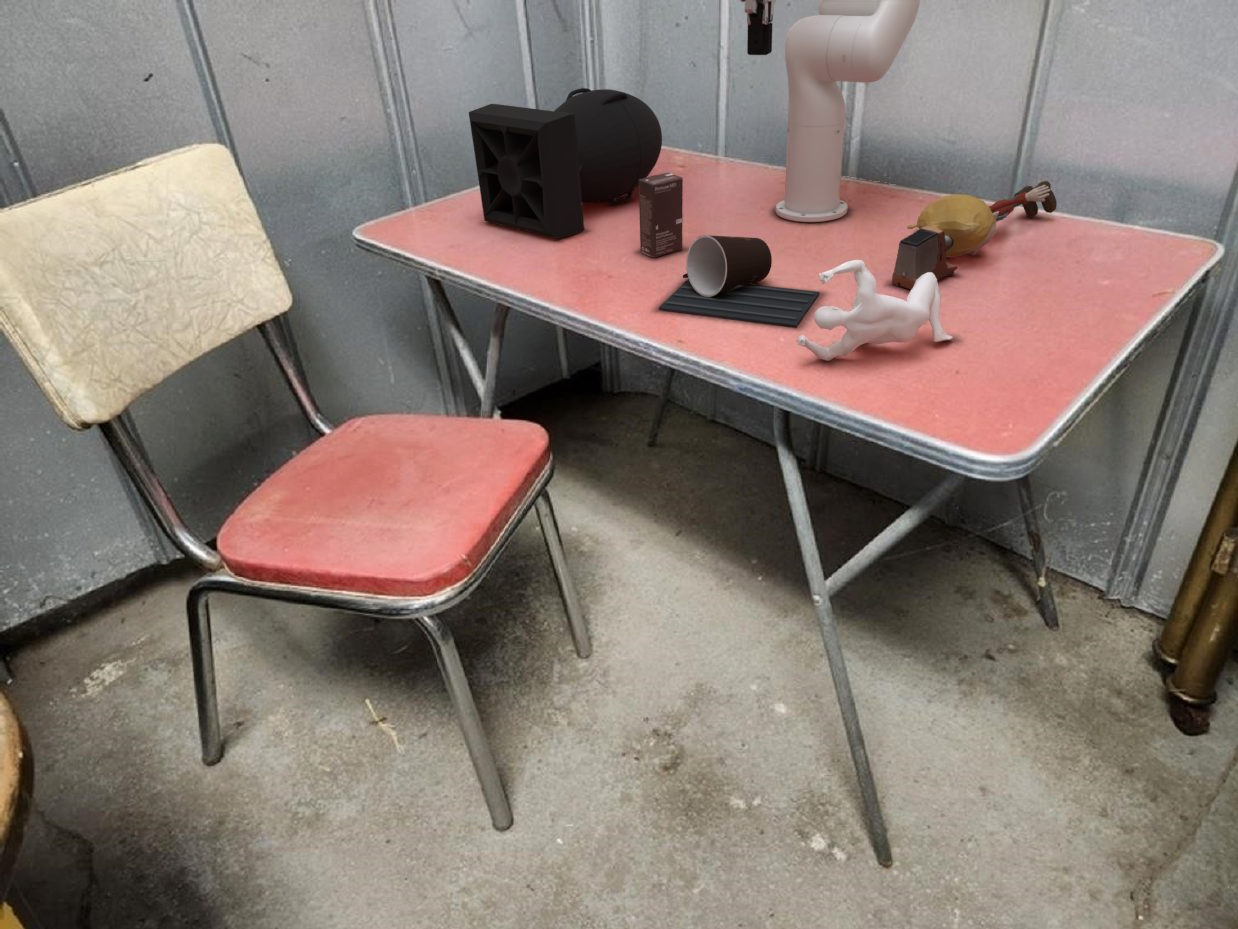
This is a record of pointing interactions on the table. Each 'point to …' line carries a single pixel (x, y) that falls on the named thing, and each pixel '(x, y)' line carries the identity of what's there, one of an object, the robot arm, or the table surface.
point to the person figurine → (877, 313)
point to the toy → (980, 216)
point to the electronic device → (922, 256)
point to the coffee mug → (726, 263)
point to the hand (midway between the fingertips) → (759, 53)
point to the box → (660, 214)
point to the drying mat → (745, 304)
